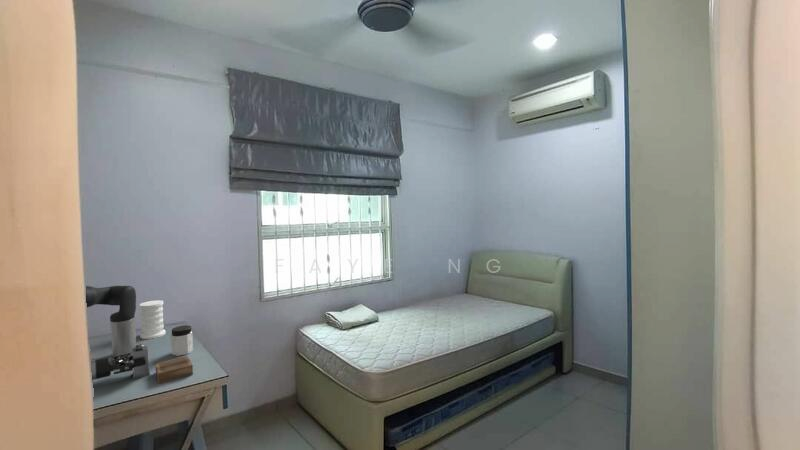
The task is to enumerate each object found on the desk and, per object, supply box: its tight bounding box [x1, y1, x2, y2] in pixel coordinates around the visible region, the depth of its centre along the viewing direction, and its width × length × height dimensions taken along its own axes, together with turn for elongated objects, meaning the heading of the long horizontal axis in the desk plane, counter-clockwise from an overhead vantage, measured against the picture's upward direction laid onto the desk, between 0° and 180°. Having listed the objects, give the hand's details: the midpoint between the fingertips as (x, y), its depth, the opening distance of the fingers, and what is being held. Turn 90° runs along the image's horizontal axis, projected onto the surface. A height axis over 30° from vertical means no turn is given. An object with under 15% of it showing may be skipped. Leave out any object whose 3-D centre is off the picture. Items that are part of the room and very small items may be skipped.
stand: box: [155, 355, 194, 384], centre depth 152 cm, size 12×12×4 cm
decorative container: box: [139, 299, 166, 340], centre depth 196 cm, size 12×12×18 cm
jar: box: [170, 324, 194, 357], centre depth 173 cm, size 9×8×12 cm
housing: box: [132, 343, 151, 380], centre depth 151 cm, size 6×6×12 cm
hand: (145, 358), depth 152 cm, fingers open, 8 cm apart
